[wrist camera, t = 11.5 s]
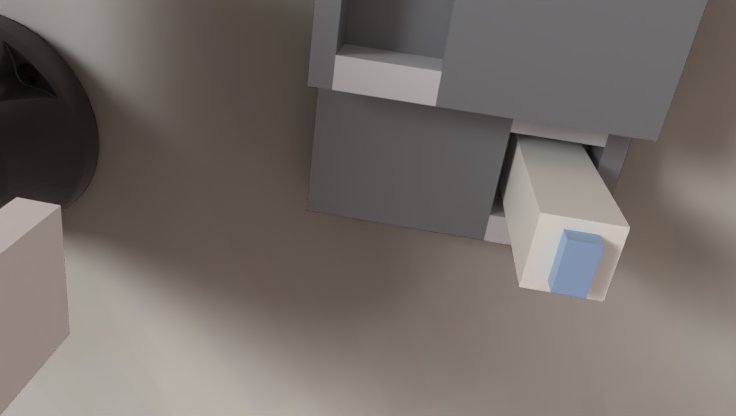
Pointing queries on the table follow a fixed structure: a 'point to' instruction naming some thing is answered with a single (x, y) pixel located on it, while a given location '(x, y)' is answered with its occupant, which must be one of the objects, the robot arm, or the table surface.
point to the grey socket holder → (479, 98)
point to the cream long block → (560, 218)
